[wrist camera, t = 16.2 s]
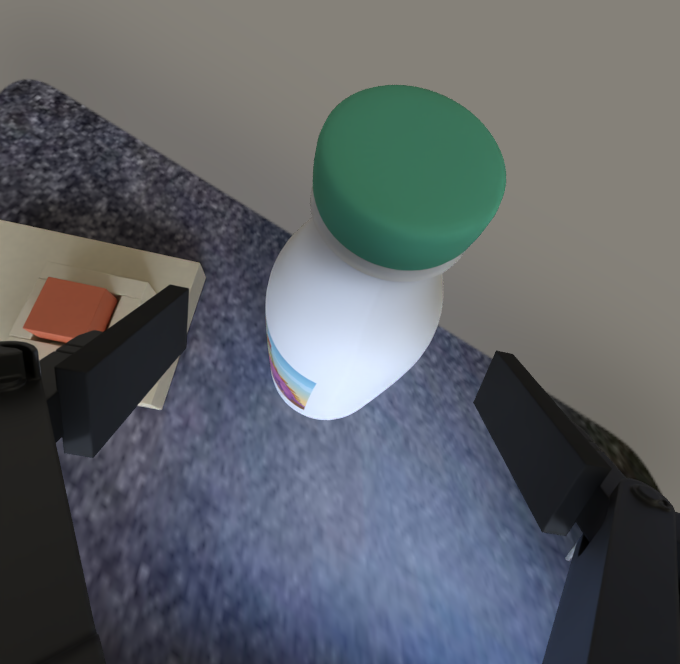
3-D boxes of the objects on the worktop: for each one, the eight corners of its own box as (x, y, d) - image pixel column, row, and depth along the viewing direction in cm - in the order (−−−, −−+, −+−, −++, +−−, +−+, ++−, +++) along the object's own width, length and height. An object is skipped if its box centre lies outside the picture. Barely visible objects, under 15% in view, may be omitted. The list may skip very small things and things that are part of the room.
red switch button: (41, 338, 22) (21, 328, 20) (64, 289, 23) (48, 276, 21) (98, 349, 22) (83, 340, 20) (118, 300, 23) (105, 288, 21)
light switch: (-65, 368, 24) (-130, 349, 20) (11, 235, 27) (-32, 199, 23) (162, 410, 25) (140, 400, 21) (206, 277, 28) (194, 248, 24)
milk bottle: (381, 325, 29) (560, 69, 10) (373, 428, 26) (596, 334, 8) (280, 309, 28) (276, 2, 9) (261, 413, 25) (203, 268, 7)
